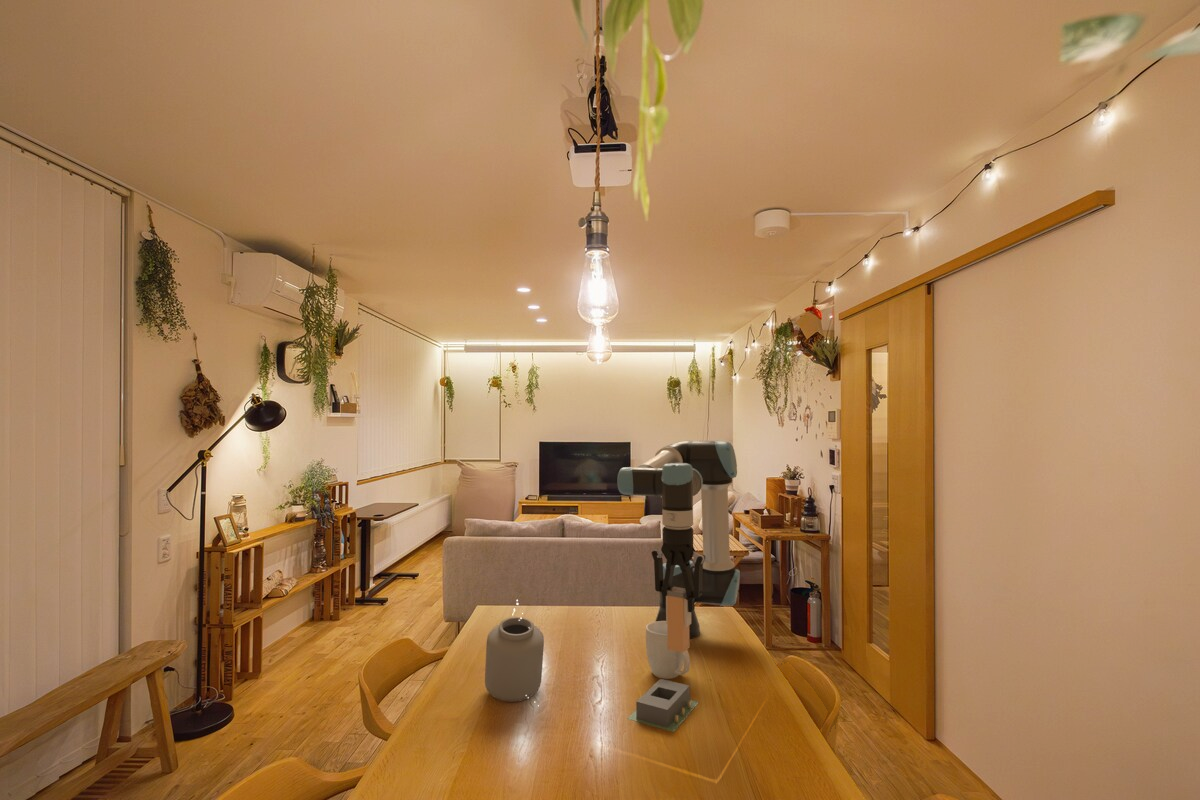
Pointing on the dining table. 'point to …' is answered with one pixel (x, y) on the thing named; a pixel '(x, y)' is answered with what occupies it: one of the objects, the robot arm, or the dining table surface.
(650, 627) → the mug
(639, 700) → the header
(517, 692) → the jar
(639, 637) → the dining table surface
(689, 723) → the dining table surface
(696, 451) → the robot arm
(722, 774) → the dining table surface
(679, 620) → the plug
